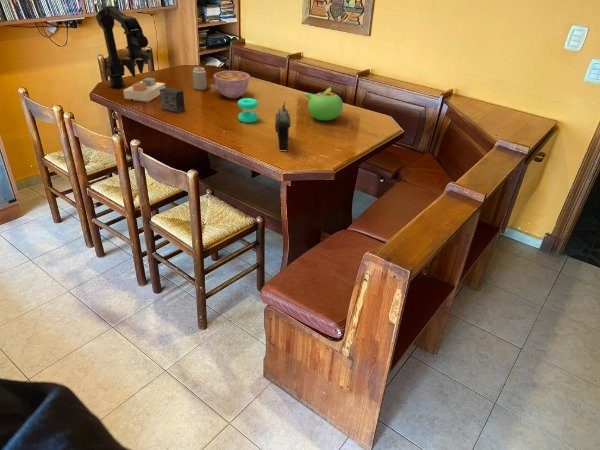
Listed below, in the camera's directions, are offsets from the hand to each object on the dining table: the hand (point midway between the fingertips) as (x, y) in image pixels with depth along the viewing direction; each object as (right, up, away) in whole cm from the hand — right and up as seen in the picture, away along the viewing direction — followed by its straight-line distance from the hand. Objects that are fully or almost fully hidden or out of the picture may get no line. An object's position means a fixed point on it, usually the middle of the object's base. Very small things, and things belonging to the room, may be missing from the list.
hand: (137, 75), depth 239 cm
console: (0, -7, +11) cm, 13 cm away
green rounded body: (+99, -25, -6) cm, 103 cm away
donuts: (+61, -27, -13) cm, 68 cm away
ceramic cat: (+79, -44, -36) cm, 97 cm away
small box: (+21, -20, -6) cm, 30 cm away
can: (+28, 0, +25) cm, 38 cm away
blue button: (+2, -2, +13) cm, 13 cm away
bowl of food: (+48, -6, +17) cm, 52 cm away
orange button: (0, -7, +5) cm, 8 cm away
